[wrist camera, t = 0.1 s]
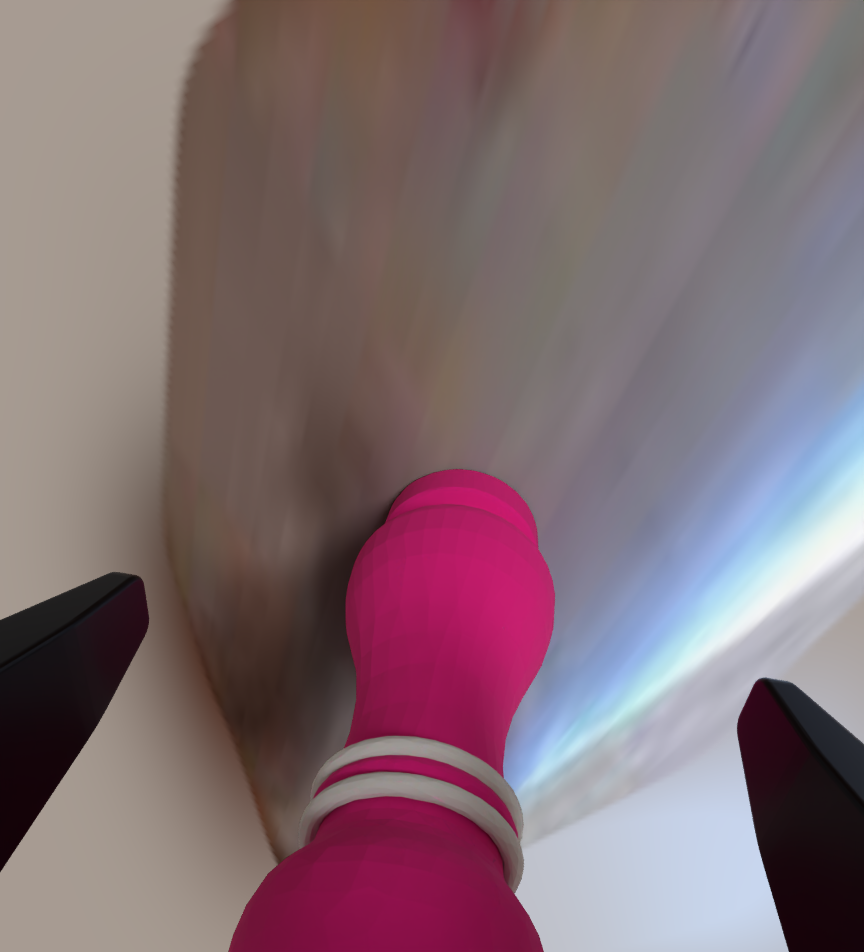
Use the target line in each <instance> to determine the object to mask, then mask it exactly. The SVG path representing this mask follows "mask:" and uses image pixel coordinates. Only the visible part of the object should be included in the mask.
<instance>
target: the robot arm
mask: <svg viewBox="0 0 864 952" xmlns="http://www.w3.org/2000/svg"><path fill="white" fill-rule="evenodd" d="M148 625H149V615H148V608H147V601H146V594H145V588H144V583H143V581H142V579H141V578H140V577H139V576H137V575H132V574H126V573H120V572H112V573H109V574H106V575H104V576H102V577H99V578H97V579H95V580H92V581H90V582H88V583H85V584H83V585H81V586H78V587H76V588H74V589H71V590H69V591H67V592H64V593H62V594H60V595H58V596H55V597H53V598H50V599H48V600H46V601H44V602H41V603H39V604H37V605H34V606H32V607H30V608H27V609H25V610H23V611H20V612H18V613H16V614H13V615H11V616H9V617H6V618H4V619H2V620H0V872H1V870H2V869H3V867H4V866H5V864H6V863H7V861H8V860H9V858H10V857H11V855H12V853H13V852H14V851H15V849H16V848H17V846H18V845H19V843H20V842H21V840H22V839H23V837H24V836H25V834H26V833H27V831H28V830H29V828H30V826H31V825H32V823H33V822H34V820H35V819H36V818H37V816H38V814H39V813H40V812H41V810H42V809H43V807H44V805H45V804H46V802H47V801H48V799H49V798H50V796H51V795H52V793H53V792H54V790H55V789H56V787H57V786H58V784H59V783H60V781H61V780H62V778H63V777H64V775H65V774H66V772H67V771H68V769H69V768H70V766H71V765H72V763H73V762H74V760H75V759H76V757H77V756H78V754H79V753H80V751H81V749H82V748H83V746H84V745H85V744H86V742H87V741H88V739H89V737H90V736H91V734H92V732H93V731H94V730H95V728H96V726H97V725H98V723H99V721H100V719H101V718H102V716H103V714H104V712H105V710H106V709H107V707H108V705H109V703H110V701H111V699H112V697H113V696H114V694H115V692H116V690H117V688H118V686H119V684H120V682H121V680H122V678H123V676H124V675H125V673H126V671H127V669H128V667H129V665H130V663H131V661H132V659H133V657H134V656H135V654H136V652H137V650H138V648H139V646H140V644H141V642H142V640H143V638H144V637H145V634H146V632H147V629H148ZM737 735H738V741H739V746H740V752H741V757H742V762H743V768H744V774H745V779H746V785H747V790H748V795H749V801H750V806H751V812H752V817H753V822H754V828H755V833H756V837H757V842H758V846H759V850H760V854H761V858H762V861H763V865H764V868H765V871H766V875H767V879H768V882H769V885H770V889H771V892H772V896H773V899H774V902H775V906H776V909H777V913H778V916H779V919H780V923H781V926H782V930H783V933H784V936H785V940H786V943H787V947H788V950H789V952H864V744H863V743H862V742H861V741H860V740H858V739H857V738H856V737H855V736H854V735H853V734H852V733H850V732H849V731H848V730H847V729H846V728H845V727H843V726H842V725H841V724H840V723H839V722H838V721H836V720H835V719H834V718H833V717H832V716H831V715H829V714H828V713H827V712H826V711H825V710H824V709H822V708H821V707H820V706H819V705H818V704H817V703H816V702H814V701H813V700H812V699H811V698H810V697H808V696H807V695H806V694H805V693H804V692H803V691H802V690H800V689H799V688H798V687H797V686H796V685H794V684H793V683H791V682H788V681H783V680H777V679H771V678H760V679H758V680H757V681H756V682H755V684H754V686H753V688H752V690H751V692H750V694H749V696H748V698H747V701H746V703H745V705H744V707H743V709H742V711H741V714H740V716H739V719H738V723H737Z"/></svg>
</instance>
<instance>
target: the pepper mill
mask: <svg viewBox="0 0 864 952" xmlns="http://www.w3.org/2000/svg"><path fill="white" fill-rule="evenodd" d="M554 606H555V592H554V586H553V580H552V577H551V575H550V572H549V569H548V566H547V564H546V562H545V560H544V558H543V557H542V555H541V553H540V551H539V550H538V536H537V527H536V524H535V521H534V518H533V515H532V513H531V511H530V509H529V507H528V505H527V504H526V503H525V501H524V500H523V499H522V498H521V497H520V496H519V494H518V493H517V492H516V491H515V490H513V489H512V488H511V487H509V486H508V485H507V484H506V483H504V482H502V481H501V480H499V479H497V478H495V477H493V476H490V475H487V474H484V473H481V472H477V471H471V470H463V469H453V470H444V471H440V472H435V473H432V474H429V475H427V476H424V477H422V478H419V479H417V480H416V481H414V482H413V483H411V484H410V485H409V486H407V487H406V488H405V489H404V490H403V491H402V493H401V494H400V495H399V496H398V497H397V498H396V500H395V501H394V503H393V505H392V507H391V509H390V511H389V514H388V517H387V519H386V522H385V524H384V525H382V526H381V527H380V528H379V529H377V530H376V531H375V532H374V533H373V534H372V536H371V537H370V538H369V539H368V540H367V541H366V543H365V544H364V546H363V547H362V549H361V550H360V552H359V554H358V556H357V559H356V561H355V563H354V566H353V570H352V573H351V576H350V580H349V583H348V588H347V595H346V630H347V636H348V640H349V644H350V648H351V653H352V657H353V661H354V665H355V669H356V674H357V680H356V704H355V709H354V714H353V720H352V725H351V730H350V734H349V736H348V739H347V742H346V744H345V747H344V749H342V750H340V751H338V752H337V753H336V754H335V755H333V756H332V757H331V758H330V759H329V760H327V761H326V762H325V763H324V765H323V766H322V767H321V769H320V770H319V772H318V774H317V776H316V778H315V780H314V781H313V785H312V789H311V794H310V795H311V802H310V803H309V805H308V806H307V807H306V809H305V811H304V813H303V815H302V818H301V820H300V823H299V833H298V839H299V848H300V849H299V850H298V851H296V852H295V853H293V854H292V855H290V856H288V857H287V858H286V859H284V860H283V861H282V862H281V863H280V864H279V865H277V866H276V867H275V868H274V869H273V870H272V871H271V872H269V873H268V875H267V876H266V877H265V879H264V880H263V882H262V883H261V885H260V886H259V888H258V889H257V891H256V892H255V893H254V895H253V896H252V898H251V899H250V901H249V902H248V904H247V905H246V907H245V910H244V912H243V914H242V916H241V919H240V921H239V923H238V925H237V928H236V930H235V932H234V934H233V938H232V941H231V945H230V948H229V951H228V952H544V951H543V948H542V944H541V941H540V938H539V935H538V933H537V931H536V929H535V927H534V925H533V923H532V921H531V919H530V917H529V915H528V914H527V912H526V911H525V909H524V908H523V906H522V905H521V903H520V902H519V900H518V899H517V897H516V896H515V894H514V893H515V892H516V890H517V888H518V886H519V884H520V881H521V879H522V874H523V867H524V859H523V854H522V849H521V846H520V841H521V839H522V833H523V826H524V824H523V814H522V810H521V807H520V804H519V802H518V799H517V797H516V795H515V793H514V791H513V789H512V788H511V787H510V785H509V784H508V783H507V782H506V780H505V779H504V777H503V759H504V750H505V740H506V736H507V733H508V730H509V727H510V724H511V721H512V717H513V715H514V714H515V712H516V710H517V708H518V706H519V704H520V702H521V700H522V698H523V696H524V695H525V693H526V691H527V690H528V688H529V686H530V685H531V683H532V681H533V680H534V678H535V676H536V675H537V673H538V671H539V669H540V667H541V666H542V663H543V660H544V657H545V654H546V652H547V649H548V646H549V643H550V639H551V635H552V631H553V624H554Z"/></svg>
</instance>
